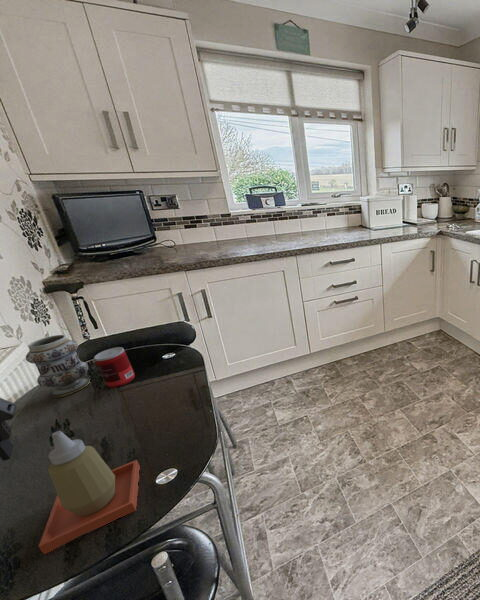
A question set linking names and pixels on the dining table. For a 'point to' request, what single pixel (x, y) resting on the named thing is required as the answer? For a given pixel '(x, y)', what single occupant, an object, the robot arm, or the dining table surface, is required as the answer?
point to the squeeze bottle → (80, 476)
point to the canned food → (114, 367)
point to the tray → (71, 525)
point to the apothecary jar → (58, 364)
